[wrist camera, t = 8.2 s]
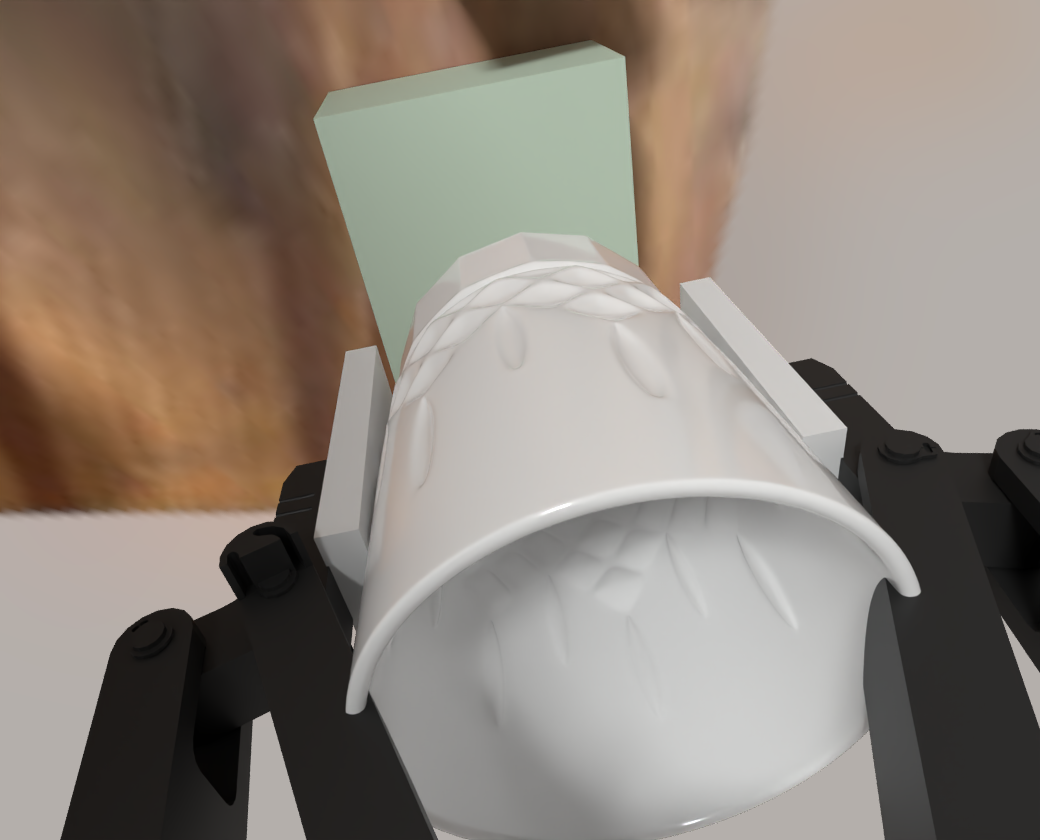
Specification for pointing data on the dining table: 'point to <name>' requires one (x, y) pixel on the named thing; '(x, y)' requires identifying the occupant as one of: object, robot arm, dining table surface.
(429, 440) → the white cup
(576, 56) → the base block
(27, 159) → the dining table surface
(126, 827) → the robot arm
